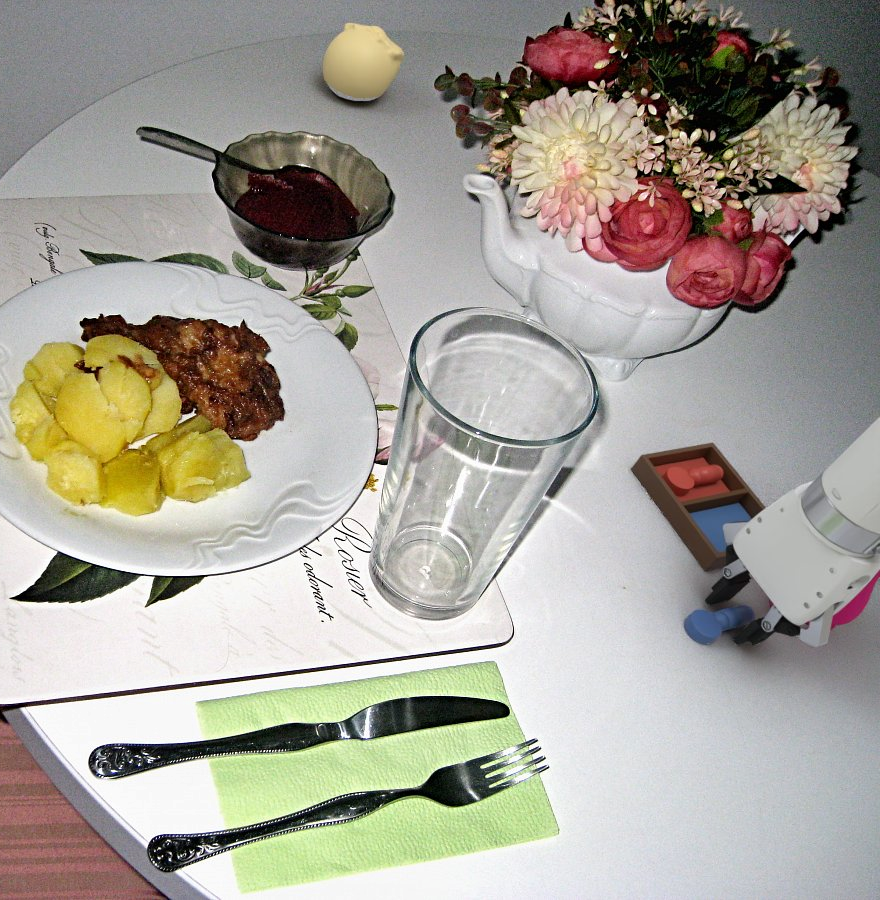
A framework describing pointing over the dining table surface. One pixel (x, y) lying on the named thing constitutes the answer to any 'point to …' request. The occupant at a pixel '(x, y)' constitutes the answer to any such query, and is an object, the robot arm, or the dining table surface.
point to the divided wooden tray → (674, 507)
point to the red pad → (704, 490)
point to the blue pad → (719, 522)
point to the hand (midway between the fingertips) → (731, 618)
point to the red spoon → (691, 477)
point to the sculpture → (361, 61)
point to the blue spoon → (716, 622)
